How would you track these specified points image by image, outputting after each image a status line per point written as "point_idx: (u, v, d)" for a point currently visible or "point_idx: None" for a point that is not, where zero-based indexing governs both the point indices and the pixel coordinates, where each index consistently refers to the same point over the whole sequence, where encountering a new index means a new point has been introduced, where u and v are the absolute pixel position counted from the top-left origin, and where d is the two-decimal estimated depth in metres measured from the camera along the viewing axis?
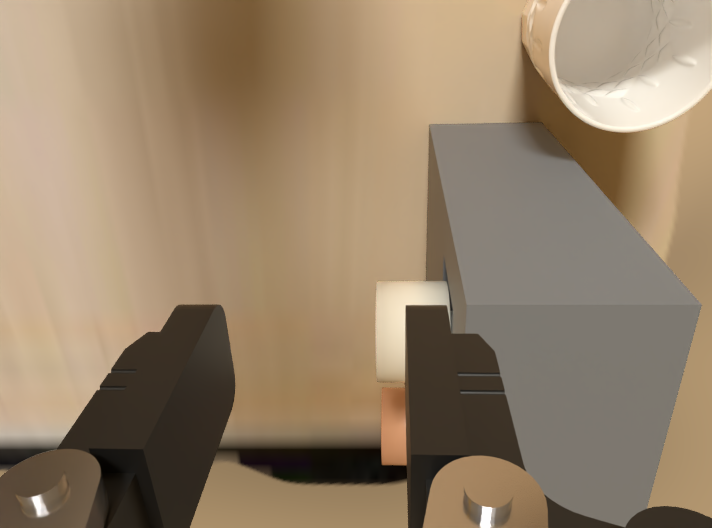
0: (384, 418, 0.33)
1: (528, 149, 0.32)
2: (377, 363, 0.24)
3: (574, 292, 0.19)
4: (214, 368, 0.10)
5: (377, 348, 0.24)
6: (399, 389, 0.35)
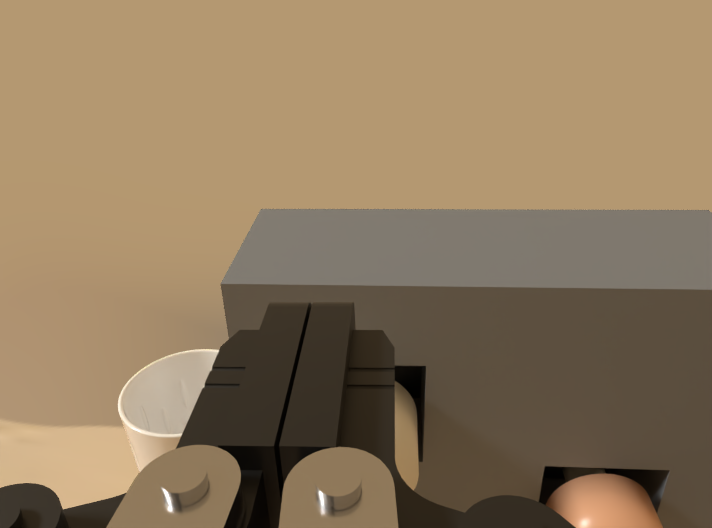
0: None
1: None
2: None
3: None
4: None
5: None
6: None
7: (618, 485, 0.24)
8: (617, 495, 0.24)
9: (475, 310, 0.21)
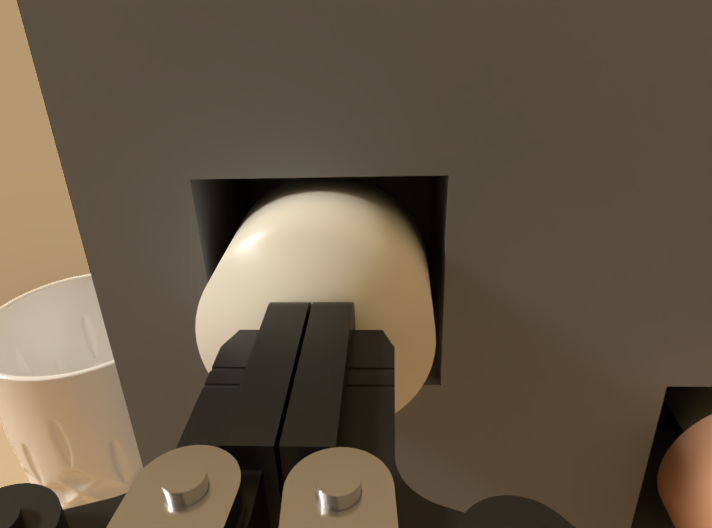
0: None
1: None
2: (312, 231, 0.10)
3: None
4: None
5: (273, 236, 0.10)
6: None
7: None
8: None
9: (554, 31, 0.10)
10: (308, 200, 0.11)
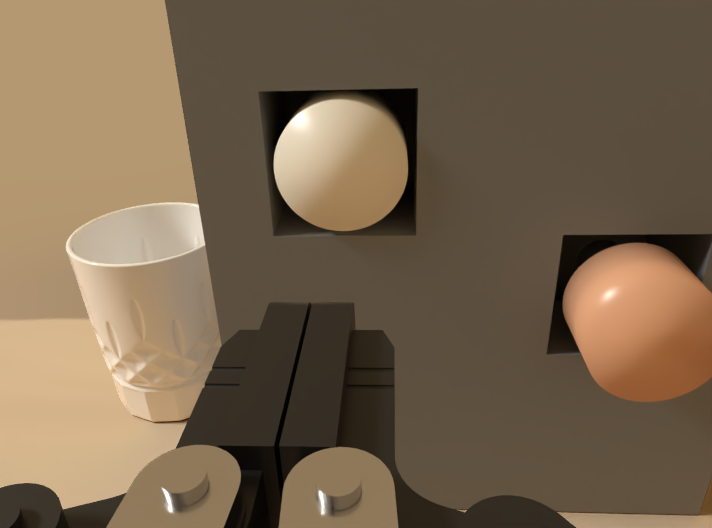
0: (606, 307, 0.18)
1: None
2: (340, 101, 0.19)
3: None
4: None
5: (319, 104, 0.19)
6: (579, 349, 0.20)
7: (653, 251, 0.20)
8: (653, 257, 0.19)
9: None
10: (336, 92, 0.20)
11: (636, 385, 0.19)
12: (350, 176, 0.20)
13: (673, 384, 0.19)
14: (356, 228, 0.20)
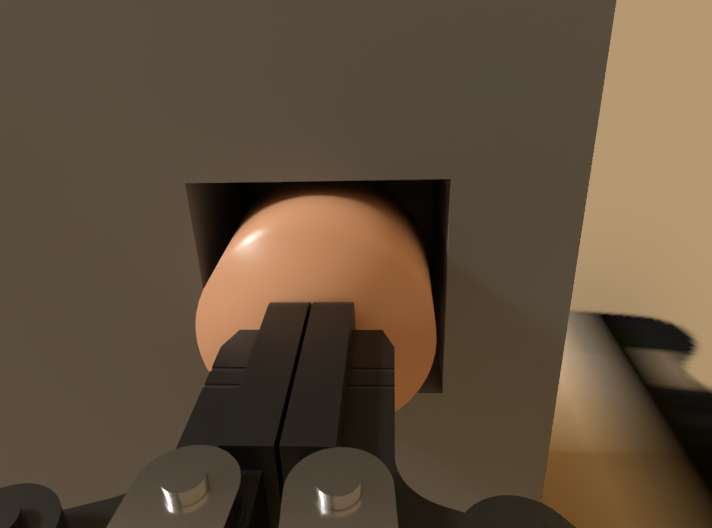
0: (213, 271, 0.11)
1: None
2: None
3: None
4: None
5: None
6: None
7: (338, 183, 0.12)
8: (326, 191, 0.12)
9: None
10: None
11: None
12: None
13: None
14: None
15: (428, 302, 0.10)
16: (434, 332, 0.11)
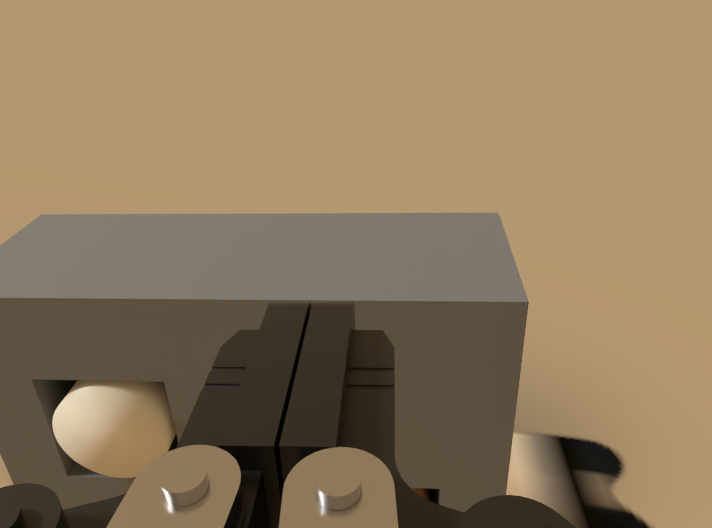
0: None
1: None
2: (99, 390, 0.22)
3: None
4: None
5: (82, 392, 0.22)
6: None
7: None
8: None
9: (198, 324, 0.20)
10: None
11: None
12: (119, 441, 0.23)
13: None
14: (133, 476, 0.24)
15: None
16: None
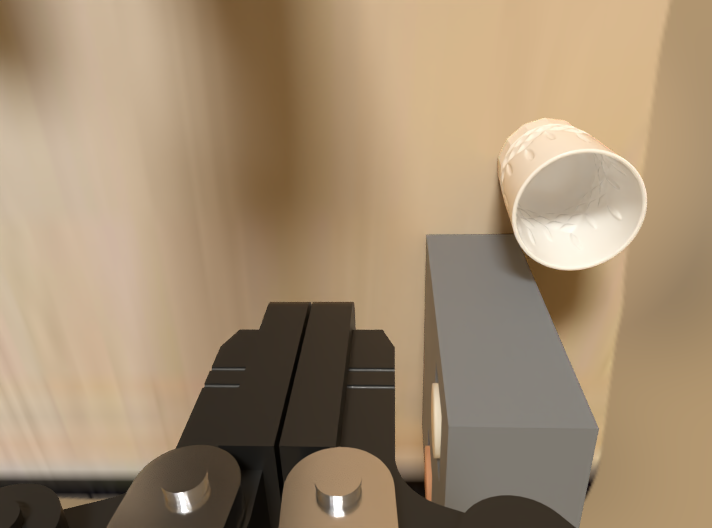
0: (430, 472, 0.43)
1: (501, 268, 0.43)
2: (436, 447, 0.34)
3: (519, 416, 0.29)
4: None
5: (436, 437, 0.34)
6: None
7: None
8: None
9: None
10: None
11: None
12: None
13: None
14: None
15: None
16: None
